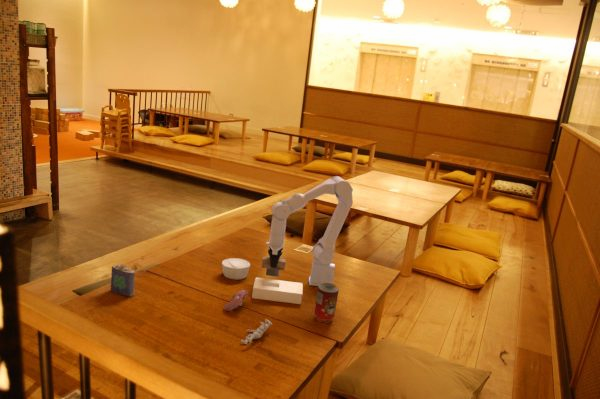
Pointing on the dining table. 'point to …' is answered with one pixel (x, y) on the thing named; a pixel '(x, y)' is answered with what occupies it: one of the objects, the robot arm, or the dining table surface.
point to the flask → (122, 281)
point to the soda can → (326, 302)
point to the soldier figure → (257, 332)
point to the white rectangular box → (277, 290)
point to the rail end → (273, 271)
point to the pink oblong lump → (236, 300)
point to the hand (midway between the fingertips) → (273, 265)
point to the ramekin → (235, 268)
